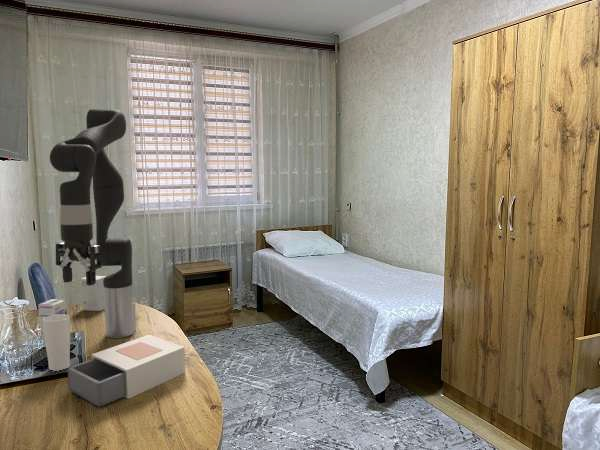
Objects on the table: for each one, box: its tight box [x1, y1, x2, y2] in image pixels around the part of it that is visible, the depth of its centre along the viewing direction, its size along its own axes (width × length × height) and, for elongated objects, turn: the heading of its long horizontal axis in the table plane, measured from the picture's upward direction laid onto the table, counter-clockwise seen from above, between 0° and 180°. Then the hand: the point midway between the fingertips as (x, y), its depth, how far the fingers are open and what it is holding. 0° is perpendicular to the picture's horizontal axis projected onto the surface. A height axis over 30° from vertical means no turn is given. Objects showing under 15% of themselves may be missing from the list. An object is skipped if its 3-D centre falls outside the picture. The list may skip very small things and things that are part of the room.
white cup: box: [43, 313, 71, 372], centre depth 129 cm, size 7×7×15 cm
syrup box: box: [37, 298, 68, 347], centre depth 145 cm, size 6×6×14 cm
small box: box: [80, 275, 107, 312], centre depth 183 cm, size 8×6×13 cm
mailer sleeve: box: [91, 334, 186, 399], centre depth 124 cm, size 18×16×8 cm
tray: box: [66, 358, 127, 408], centre depth 118 cm, size 18×14×6 cm
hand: (79, 283), depth 119 cm, fingers open, 8 cm apart
